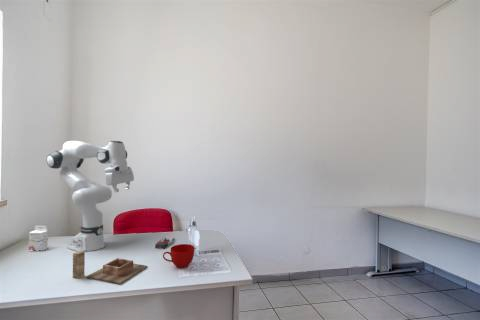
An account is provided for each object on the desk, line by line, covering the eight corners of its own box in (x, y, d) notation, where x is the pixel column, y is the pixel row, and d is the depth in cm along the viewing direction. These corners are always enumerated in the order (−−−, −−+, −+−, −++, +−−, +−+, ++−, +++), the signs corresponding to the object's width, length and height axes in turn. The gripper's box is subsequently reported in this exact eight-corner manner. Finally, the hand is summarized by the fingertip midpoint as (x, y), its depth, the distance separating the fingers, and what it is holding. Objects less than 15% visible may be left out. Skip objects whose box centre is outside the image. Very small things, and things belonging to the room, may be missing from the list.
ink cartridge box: (28, 251, 161) (28, 227, 161) (34, 248, 166) (34, 225, 166) (42, 251, 161) (42, 227, 161) (48, 248, 166) (48, 225, 166)
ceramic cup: (161, 264, 146) (161, 246, 146) (191, 260, 153) (191, 243, 153) (164, 274, 134) (164, 254, 134) (196, 269, 141) (197, 250, 141)
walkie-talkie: (167, 250, 169) (176, 240, 189) (167, 243, 169) (176, 234, 189) (153, 249, 169) (163, 239, 189) (153, 242, 169) (164, 233, 189)
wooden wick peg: (72, 277, 128) (72, 253, 128) (78, 274, 132) (79, 250, 131) (78, 278, 127) (78, 254, 127) (84, 275, 131) (84, 251, 130)
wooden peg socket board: (86, 278, 128) (86, 268, 128) (116, 262, 147) (117, 253, 147) (120, 284, 122) (120, 274, 122) (147, 267, 141) (147, 258, 141)
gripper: (126, 166, 167) (129, 188, 167) (102, 169, 147) (105, 194, 148) (135, 165, 165) (137, 187, 166) (111, 168, 146) (114, 193, 146)
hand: (122, 190), depth 157 cm, fingers open, 8 cm apart
